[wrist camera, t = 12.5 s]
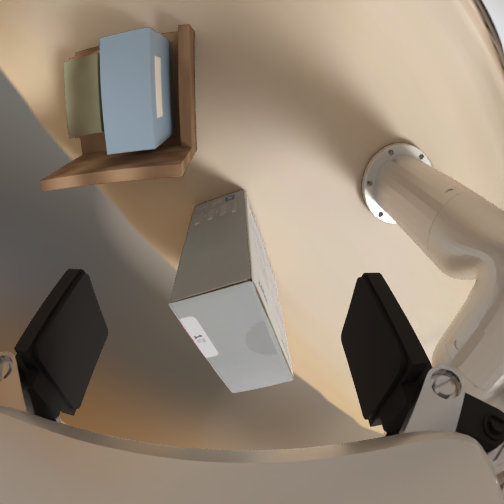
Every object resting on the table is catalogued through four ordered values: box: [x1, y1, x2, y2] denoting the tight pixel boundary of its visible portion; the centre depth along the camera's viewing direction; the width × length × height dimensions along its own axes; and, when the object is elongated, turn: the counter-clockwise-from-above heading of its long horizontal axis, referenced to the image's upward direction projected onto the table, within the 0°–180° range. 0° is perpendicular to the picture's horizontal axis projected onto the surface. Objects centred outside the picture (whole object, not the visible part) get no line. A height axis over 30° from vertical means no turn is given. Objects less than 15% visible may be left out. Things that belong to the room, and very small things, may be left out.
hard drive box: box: [168, 190, 294, 393], centre depth 35 cm, size 16×8×20 cm, turn 17°
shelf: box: [40, 24, 197, 191], centre depth 26 cm, size 16×16×12 cm
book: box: [100, 27, 175, 155], centre depth 26 cm, size 5×12×10 cm, turn 0°
